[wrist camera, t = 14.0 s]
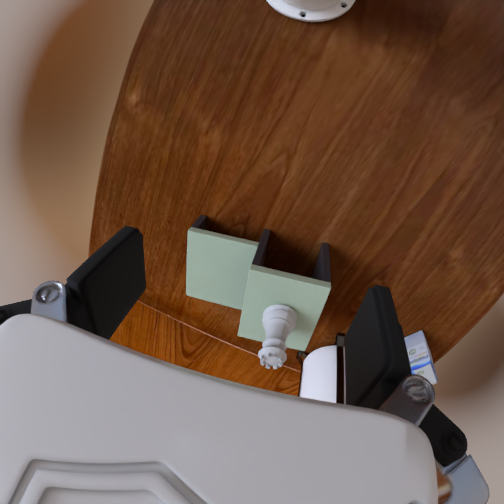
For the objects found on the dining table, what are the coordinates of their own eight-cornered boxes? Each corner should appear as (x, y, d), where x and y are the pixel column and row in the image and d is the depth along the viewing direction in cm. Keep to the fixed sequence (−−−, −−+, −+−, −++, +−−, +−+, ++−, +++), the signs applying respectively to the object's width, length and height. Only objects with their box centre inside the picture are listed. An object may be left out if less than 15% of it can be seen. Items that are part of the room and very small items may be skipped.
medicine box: (430, 350, 50) (438, 382, 43) (411, 358, 52) (418, 391, 45) (422, 328, 48) (431, 362, 40) (401, 337, 50) (409, 372, 42)
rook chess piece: (274, 296, 36) (264, 343, 29) (304, 312, 36) (299, 361, 30) (257, 316, 38) (244, 363, 32) (285, 331, 39) (277, 378, 32)
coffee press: (289, 374, 61) (266, 501, 35) (305, 325, 52) (285, 485, 27) (361, 384, 59) (360, 506, 33) (390, 338, 50) (406, 486, 25)
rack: (201, 214, 45) (171, 250, 36) (328, 243, 43) (331, 288, 34) (197, 276, 51) (172, 317, 42) (308, 303, 49) (304, 351, 40)
